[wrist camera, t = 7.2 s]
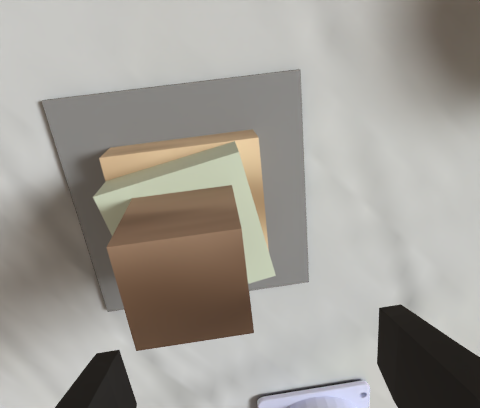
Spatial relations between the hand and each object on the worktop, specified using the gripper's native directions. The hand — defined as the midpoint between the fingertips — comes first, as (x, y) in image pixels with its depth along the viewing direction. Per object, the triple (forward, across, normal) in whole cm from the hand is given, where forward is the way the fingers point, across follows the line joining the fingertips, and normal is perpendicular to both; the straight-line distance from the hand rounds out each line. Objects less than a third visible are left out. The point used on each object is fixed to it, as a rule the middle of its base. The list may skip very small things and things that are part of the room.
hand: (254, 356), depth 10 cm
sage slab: (+8, +2, -1) cm, 8 cm away
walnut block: (+6, +2, -1) cm, 6 cm away
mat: (+10, +2, -1) cm, 11 cm away
